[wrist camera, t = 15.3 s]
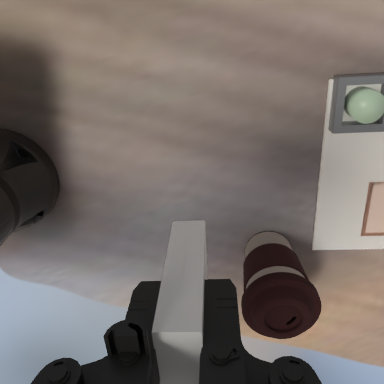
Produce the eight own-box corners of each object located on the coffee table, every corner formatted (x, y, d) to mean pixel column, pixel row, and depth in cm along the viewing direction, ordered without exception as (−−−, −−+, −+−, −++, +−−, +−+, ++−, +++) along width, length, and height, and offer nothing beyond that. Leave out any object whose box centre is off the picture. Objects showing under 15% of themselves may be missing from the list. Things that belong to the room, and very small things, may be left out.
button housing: (328, 129, 48) (332, 133, 46) (334, 75, 45) (339, 77, 43) (382, 127, 47) (389, 131, 46) (391, 72, 44) (399, 74, 43)
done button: (341, 118, 47) (349, 124, 44) (345, 87, 45) (354, 91, 43) (372, 116, 47) (383, 123, 44) (377, 85, 45) (389, 89, 42)
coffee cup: (227, 234, 56) (231, 301, 43) (288, 214, 54) (312, 278, 41) (248, 281, 60) (258, 356, 47) (306, 264, 58) (334, 337, 45)
